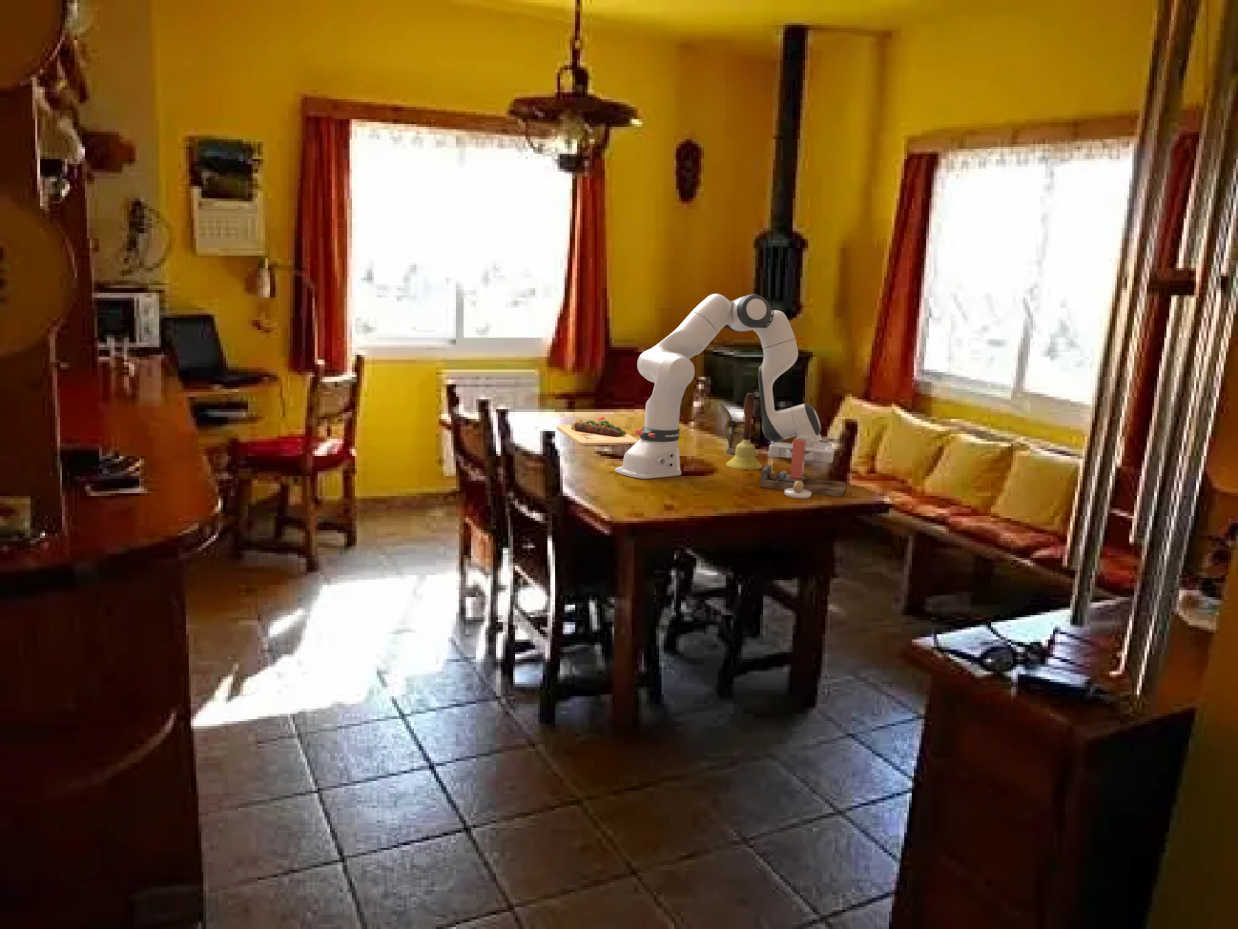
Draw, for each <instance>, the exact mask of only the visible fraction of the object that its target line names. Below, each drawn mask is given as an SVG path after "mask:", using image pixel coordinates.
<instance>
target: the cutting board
mask: <svg viewBox="0 0 1238 929" xmlns="http://www.w3.org/2000/svg"><path fill="white" fill-rule="evenodd" d="M556 430H558V431H559V432H561V433H562V434H564V435H565V436H566V437H568V438H569V439H570V440H572V441H574V442H575V443H576V442H577V443H576V444H578V445H579V446H585V447H593V446H594V447H595V446H596V447H597V445H609V446H620V445H619V444H635V443H636V442H637V441H638V440H639V439H637V438H636V437H635V436H634V437H633V436H632V435H630V434H629V433H627V431H626V430H623V429H622V428H620V426H615V425H613V423H611V422H609V421H608V420H606V418H605V417H604V416H603V415H600V416H599V417H598V418H597V419H596V420H594V419H588V420H583V419H580V418H579V419H577V420H576V421H575V422H574V423H573V422H572V423H571V424H559V425H557V426H556ZM617 444H618V445H617Z"/></svg>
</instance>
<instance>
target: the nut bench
mask: <svg viewBox="0 0 1238 929" xmlns="http://www.w3.org/2000/svg"><path fill="white" fill-rule="evenodd" d="M759 483H760V484H759V487H761V488H767V489H768V488H769V489H777V490H784V491H785V489H788V488H793V485H794V483H788V482H780V481H779V473H778V472H777V471H776V470H772V465H771V464H766V465H765V466H764V467H762V468H761V478H760V482H759ZM803 489H805V490H809V491H811V494H815V495H816V494H817V495H825V496H831V497H839V498H841V497H843V495H844V492H845V490H846V482H839V481H832V480H831V481H830V480H825V479H824V480H822V479H816V478H815V479H814V478H807V477H806V481H805V483H804V487H803Z"/></svg>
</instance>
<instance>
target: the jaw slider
mask: <svg viewBox="0 0 1238 929" xmlns="http://www.w3.org/2000/svg"><path fill="white" fill-rule="evenodd" d="M792 442H793V450H792V459H791V460H790V462H791V463H790V464H791V465H790V472H789V474H788V473H787V472H788V471H787V470H781V471H780V472H779V473H778V475H779V481H780V482H788V483H795V482H796V481H802V482H803V484H804V483H805V481H806V478H807V476H805V475H804V469H805V468H804V467H805V463H804V460H803V459H804V454H805V449H806V440H804V439H796V438H794V439H793V440H792Z"/></svg>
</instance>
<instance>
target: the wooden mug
mask: <svg viewBox="0 0 1238 929" xmlns="http://www.w3.org/2000/svg"><path fill="white" fill-rule="evenodd" d="M719 409H720V411H721V413H722V414H723V416H724V417H725V418H726V421H725V424H724V427H723V429H724V430H723V432H724V434H725V437H726V439H727V442H728V446H727V448H726V452H727V454H730V455H734V454H735V451H736V446H737V445H738V444H739V443H741V442H742V441H743V436H744V424H745V421H742V420H741V421H739V420H738V421H737V420H732V419H733V418H732V415H731V412H730V411H729V410H728V408H726V407H725V406H724V405H723V404H720V405H719ZM729 431H730V432H729ZM751 432H752V431H751V427H750V433H751ZM749 440H750V441H751V438H750V439H749Z"/></svg>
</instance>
